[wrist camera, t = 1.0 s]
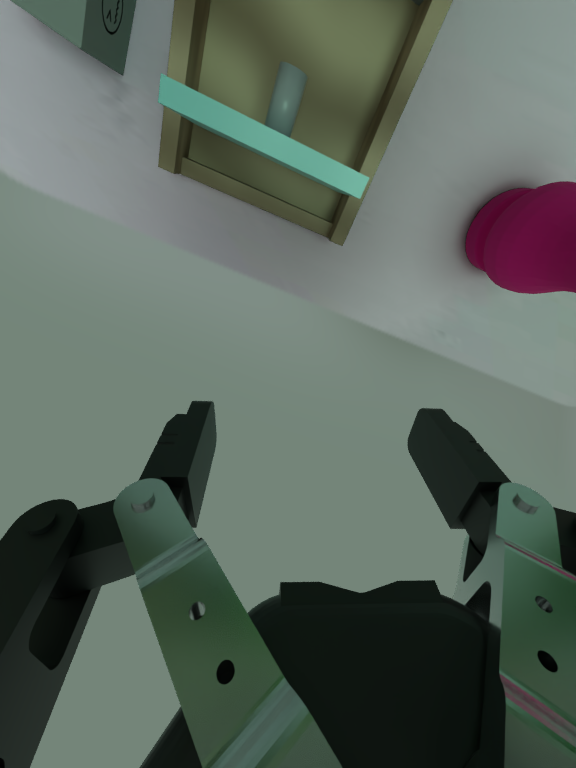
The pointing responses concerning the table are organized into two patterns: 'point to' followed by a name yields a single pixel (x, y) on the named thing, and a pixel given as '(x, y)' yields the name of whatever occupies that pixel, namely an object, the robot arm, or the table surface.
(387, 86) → the pusher lane
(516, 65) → the table surface
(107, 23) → the dice cube
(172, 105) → the bar
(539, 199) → the pepper mill
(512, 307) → the table surface
